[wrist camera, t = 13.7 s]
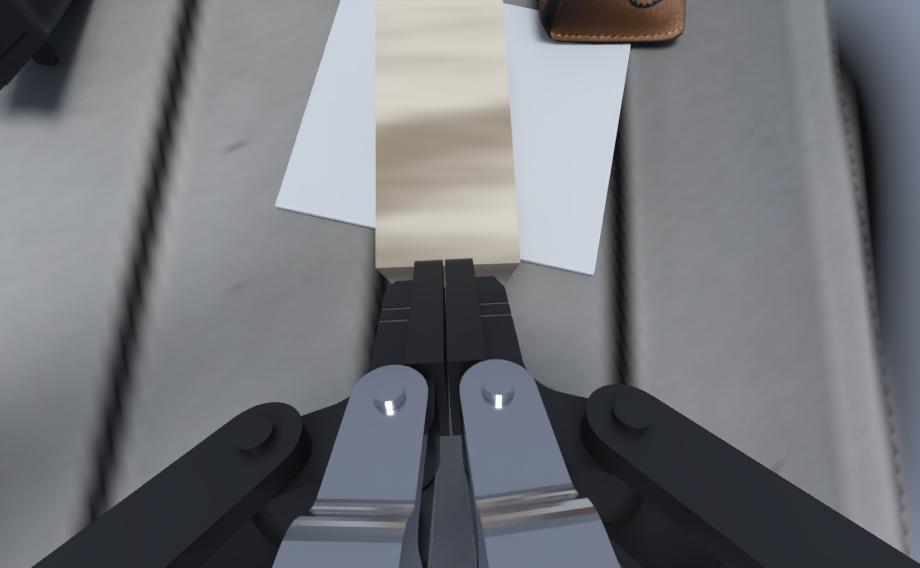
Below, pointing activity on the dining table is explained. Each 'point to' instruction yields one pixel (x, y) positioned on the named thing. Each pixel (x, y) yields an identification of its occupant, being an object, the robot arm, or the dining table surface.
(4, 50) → the magazine
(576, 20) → the sunglasses case
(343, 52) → the mat
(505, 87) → the birch block
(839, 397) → the dining table surface
